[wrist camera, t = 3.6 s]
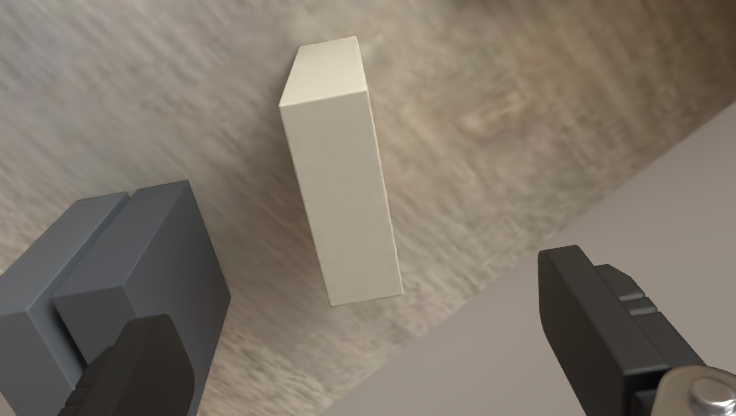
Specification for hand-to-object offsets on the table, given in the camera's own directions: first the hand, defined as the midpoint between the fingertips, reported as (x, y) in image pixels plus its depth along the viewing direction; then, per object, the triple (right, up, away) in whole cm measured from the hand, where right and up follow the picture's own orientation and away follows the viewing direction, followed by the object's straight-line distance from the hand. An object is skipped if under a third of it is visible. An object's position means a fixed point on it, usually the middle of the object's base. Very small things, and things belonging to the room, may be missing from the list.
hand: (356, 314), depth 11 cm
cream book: (-1, +6, +12) cm, 14 cm away
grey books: (-10, 0, +15) cm, 18 cm away
